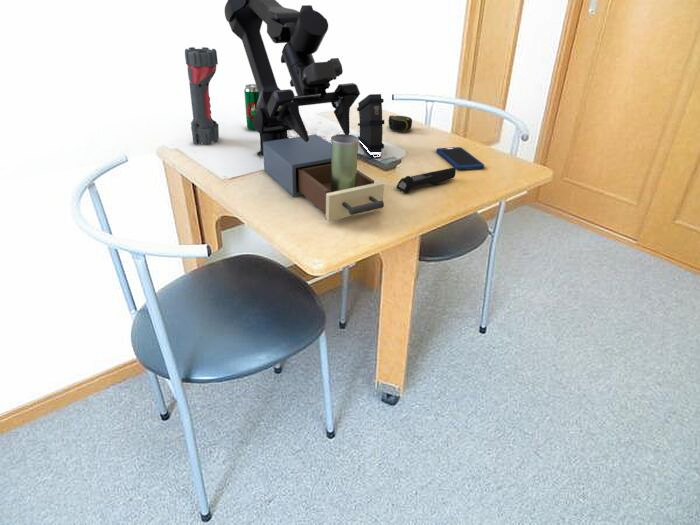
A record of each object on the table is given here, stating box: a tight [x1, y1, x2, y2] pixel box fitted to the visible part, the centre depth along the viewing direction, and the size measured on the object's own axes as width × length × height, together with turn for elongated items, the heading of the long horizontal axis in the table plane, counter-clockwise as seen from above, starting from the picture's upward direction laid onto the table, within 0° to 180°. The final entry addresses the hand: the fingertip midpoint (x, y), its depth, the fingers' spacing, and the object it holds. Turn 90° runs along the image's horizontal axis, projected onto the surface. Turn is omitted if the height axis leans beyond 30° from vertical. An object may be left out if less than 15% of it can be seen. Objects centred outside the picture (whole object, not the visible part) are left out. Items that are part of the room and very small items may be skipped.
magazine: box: [356, 93, 385, 159], centre depth 125 cm, size 4×13×15 cm, turn 15°
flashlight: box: [184, 46, 220, 146], centre depth 124 cm, size 8×8×23 cm
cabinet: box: [263, 133, 332, 198], centre depth 109 cm, size 16×14×7 cm
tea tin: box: [330, 133, 359, 192], centre depth 95 cm, size 5×5×12 cm
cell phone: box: [435, 146, 485, 171], centre depth 125 cm, size 7×14×1 cm, turn 15°
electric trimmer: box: [396, 167, 457, 194], centre depth 110 cm, size 4×16×3 cm, turn 122°
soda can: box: [243, 83, 259, 132], centre depth 137 cm, size 5×5×12 cm
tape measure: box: [387, 115, 413, 133], centre depth 143 cm, size 7×7×4 cm
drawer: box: [298, 163, 385, 222], centre depth 97 cm, size 19×12×5 cm, turn 31°
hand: (328, 137), depth 97 cm, fingers open, 9 cm apart
